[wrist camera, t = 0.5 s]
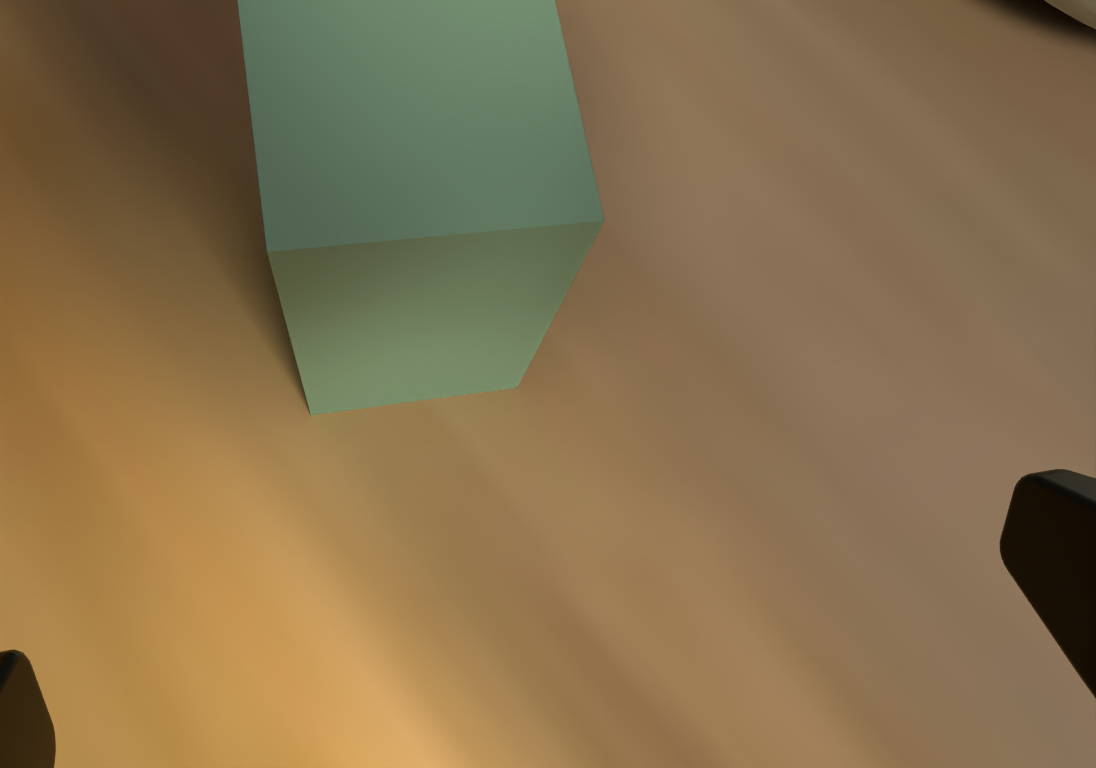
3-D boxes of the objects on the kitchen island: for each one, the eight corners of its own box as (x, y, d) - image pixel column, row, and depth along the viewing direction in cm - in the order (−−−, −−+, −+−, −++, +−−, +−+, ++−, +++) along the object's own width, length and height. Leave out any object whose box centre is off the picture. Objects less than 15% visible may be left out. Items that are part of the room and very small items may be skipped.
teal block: (517, 387, 22) (604, 220, 14) (310, 415, 21) (267, 252, 13) (483, 206, 23) (543, -49, 15) (286, 224, 22) (232, -42, 14)
